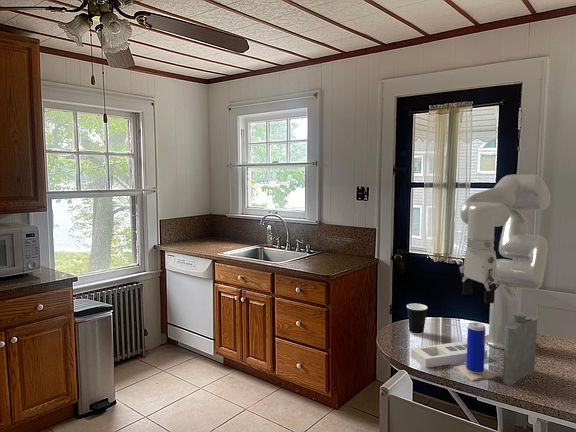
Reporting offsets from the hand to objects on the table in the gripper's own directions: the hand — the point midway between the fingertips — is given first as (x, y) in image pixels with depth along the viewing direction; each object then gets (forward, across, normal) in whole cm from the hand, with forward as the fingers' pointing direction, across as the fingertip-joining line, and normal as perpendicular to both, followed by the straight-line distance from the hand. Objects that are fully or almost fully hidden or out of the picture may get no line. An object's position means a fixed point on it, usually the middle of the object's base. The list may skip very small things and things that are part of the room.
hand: (478, 298), depth 138 cm
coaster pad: (+24, 0, 0) cm, 24 cm away
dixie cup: (+24, +35, -1) cm, 43 cm away
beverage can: (+24, 0, 0) cm, 24 cm away
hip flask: (+24, -6, -11) cm, 27 cm away
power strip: (+24, +12, +1) cm, 27 cm away
